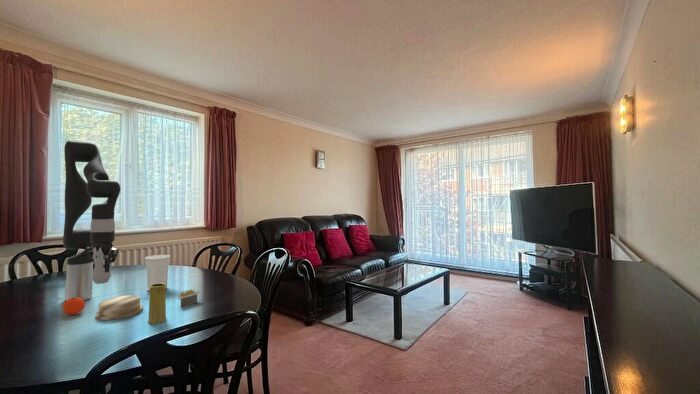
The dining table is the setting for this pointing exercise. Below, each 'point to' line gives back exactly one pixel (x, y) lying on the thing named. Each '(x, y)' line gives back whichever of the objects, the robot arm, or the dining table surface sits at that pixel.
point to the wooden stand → (119, 307)
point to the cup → (157, 269)
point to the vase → (157, 303)
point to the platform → (188, 297)
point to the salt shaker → (100, 270)
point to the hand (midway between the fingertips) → (101, 273)
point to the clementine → (73, 305)
